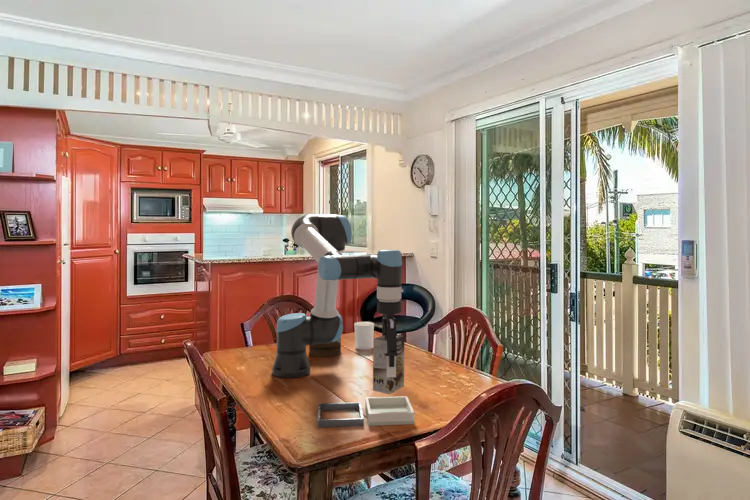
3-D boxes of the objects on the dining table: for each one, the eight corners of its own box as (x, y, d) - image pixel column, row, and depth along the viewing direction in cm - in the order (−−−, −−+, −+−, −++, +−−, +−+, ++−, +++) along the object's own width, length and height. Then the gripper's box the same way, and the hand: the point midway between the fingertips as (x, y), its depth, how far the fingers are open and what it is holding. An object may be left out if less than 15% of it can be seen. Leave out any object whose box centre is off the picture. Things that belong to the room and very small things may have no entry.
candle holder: (373, 350, 222) (374, 325, 222) (353, 350, 222) (353, 325, 222) (374, 345, 232) (374, 321, 232) (354, 345, 232) (354, 321, 232)
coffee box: (390, 394, 137) (390, 341, 136) (372, 390, 140) (372, 338, 140) (405, 386, 145) (405, 335, 144) (387, 382, 148) (387, 332, 147)
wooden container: (345, 355, 214) (345, 307, 213) (313, 358, 208) (313, 309, 207) (335, 347, 227) (335, 303, 226) (305, 350, 221) (305, 305, 221)
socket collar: (317, 427, 134) (317, 420, 134) (318, 409, 148) (318, 403, 147) (363, 425, 135) (363, 419, 135) (361, 408, 149) (361, 402, 149)
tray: (368, 425, 135) (368, 413, 135) (365, 408, 149) (365, 397, 149) (414, 424, 137) (414, 412, 136) (407, 406, 150) (407, 396, 150)
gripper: (407, 305, 130) (406, 383, 131) (396, 294, 153) (395, 360, 154) (381, 306, 130) (380, 383, 130) (373, 295, 153) (373, 361, 153)
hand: (388, 371), depth 142 cm, fingers closed on coffee box, 10 cm apart
